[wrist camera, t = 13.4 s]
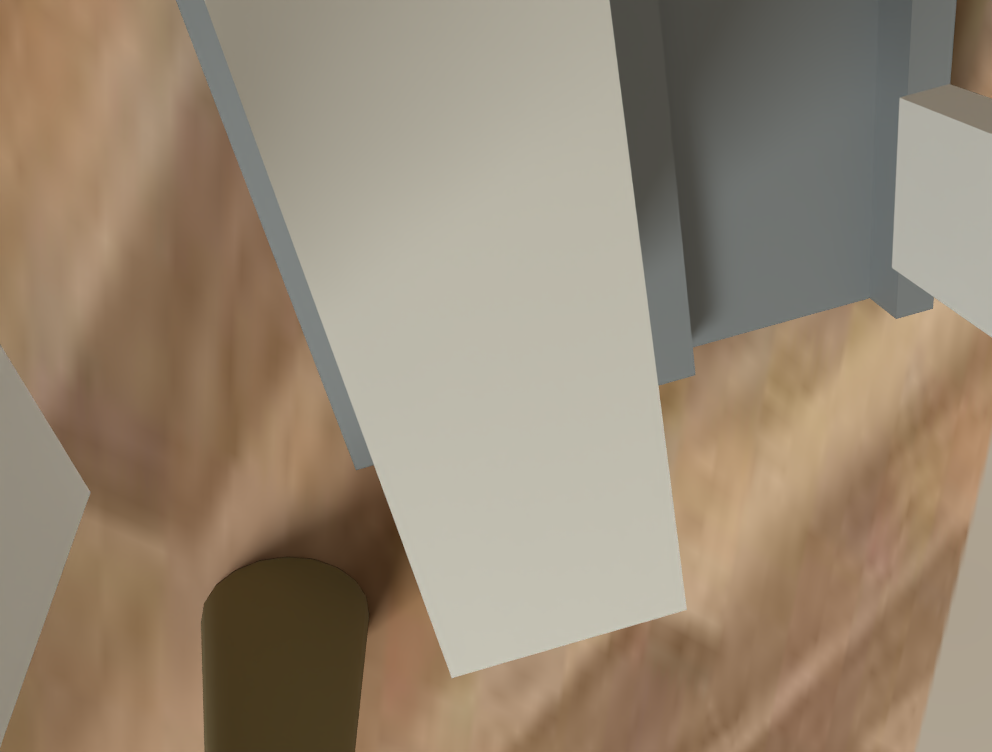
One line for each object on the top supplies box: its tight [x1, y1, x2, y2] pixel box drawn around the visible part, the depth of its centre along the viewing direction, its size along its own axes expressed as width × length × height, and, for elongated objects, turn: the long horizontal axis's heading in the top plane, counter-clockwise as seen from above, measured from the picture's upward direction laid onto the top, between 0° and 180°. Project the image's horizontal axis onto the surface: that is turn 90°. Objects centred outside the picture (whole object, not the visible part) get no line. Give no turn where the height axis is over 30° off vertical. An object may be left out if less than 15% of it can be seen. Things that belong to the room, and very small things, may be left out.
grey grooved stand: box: [176, 0, 957, 470], centre depth 22 cm, size 18×19×2 cm
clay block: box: [204, 0, 687, 678], centre depth 17 cm, size 4×14×12 cm, turn 12°
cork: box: [201, 557, 369, 752], centre depth 27 cm, size 6×6×11 cm
